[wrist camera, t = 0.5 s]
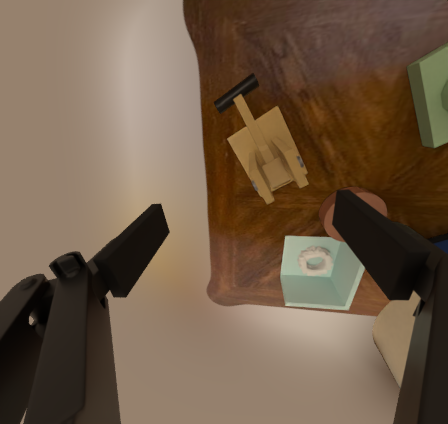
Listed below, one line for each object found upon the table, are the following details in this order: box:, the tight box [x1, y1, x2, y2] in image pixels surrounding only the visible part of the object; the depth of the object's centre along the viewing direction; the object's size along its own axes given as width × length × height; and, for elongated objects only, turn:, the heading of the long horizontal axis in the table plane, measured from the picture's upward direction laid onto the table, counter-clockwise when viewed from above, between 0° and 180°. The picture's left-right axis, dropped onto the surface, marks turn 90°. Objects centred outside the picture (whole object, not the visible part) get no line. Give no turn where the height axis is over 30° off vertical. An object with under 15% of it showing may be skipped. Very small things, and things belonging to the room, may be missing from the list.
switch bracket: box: [227, 106, 309, 204], centre depth 27 cm, size 12×9×14 cm
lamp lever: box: [214, 73, 291, 189], centre depth 23 cm, size 13×6×2 cm, turn 32°
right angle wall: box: [280, 236, 365, 310], centre depth 38 cm, size 12×12×8 cm
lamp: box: [319, 187, 421, 389], centre depth 22 cm, size 14×14×32 cm
